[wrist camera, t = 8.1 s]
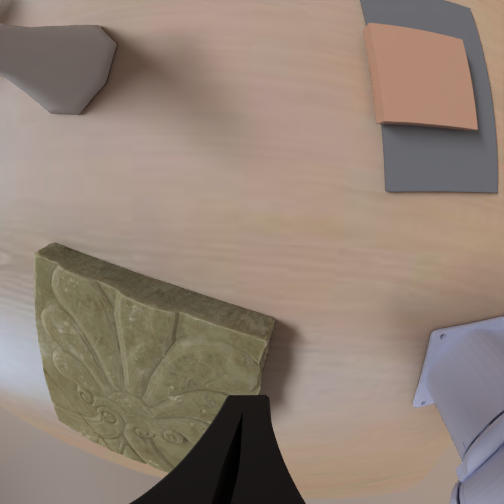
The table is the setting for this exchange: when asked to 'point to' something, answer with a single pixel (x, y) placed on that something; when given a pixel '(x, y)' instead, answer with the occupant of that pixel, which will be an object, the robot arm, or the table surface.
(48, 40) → the flask
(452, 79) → the tile
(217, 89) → the table surface
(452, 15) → the mat
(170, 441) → the decorative tile
